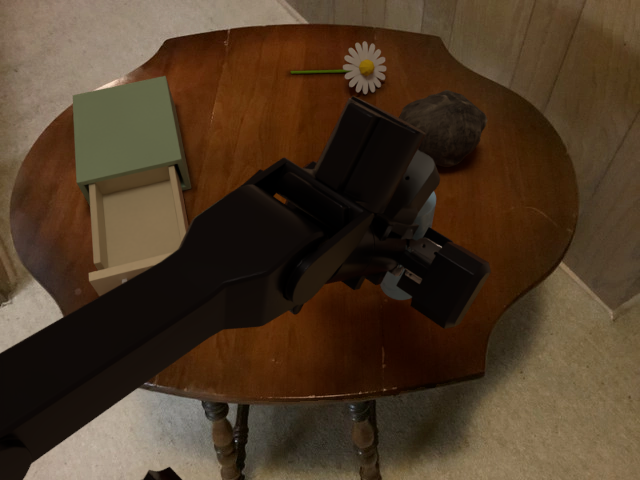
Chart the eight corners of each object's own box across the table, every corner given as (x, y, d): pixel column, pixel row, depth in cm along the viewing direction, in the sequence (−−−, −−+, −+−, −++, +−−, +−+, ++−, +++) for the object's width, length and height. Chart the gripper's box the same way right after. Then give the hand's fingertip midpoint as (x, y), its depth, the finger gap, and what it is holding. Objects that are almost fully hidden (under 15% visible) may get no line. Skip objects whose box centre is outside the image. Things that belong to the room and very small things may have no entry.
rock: (380, 128, 86) (396, 75, 77) (452, 120, 88) (475, 68, 80) (401, 184, 81) (420, 134, 72) (477, 174, 83) (504, 125, 75)
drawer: (208, 306, 70) (201, 288, 66) (103, 334, 68) (90, 316, 65) (184, 177, 82) (177, 156, 79) (94, 198, 80) (83, 177, 77)
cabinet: (191, 188, 82) (181, 158, 77) (92, 211, 80) (76, 182, 75) (175, 106, 92) (165, 75, 87) (87, 125, 90) (72, 95, 85)
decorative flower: (286, 41, 88) (388, 38, 88) (290, 47, 94) (385, 44, 94) (287, 95, 90) (388, 93, 89) (291, 97, 96) (385, 95, 95)
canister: (391, 306, 62) (400, 223, 51) (372, 273, 64) (377, 188, 53) (428, 291, 63) (445, 206, 52) (408, 259, 65) (421, 172, 54)
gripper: (503, 210, 39) (543, 212, 53) (293, 93, 47) (375, 122, 61) (422, 347, 42) (479, 316, 56) (237, 217, 50) (327, 218, 64)
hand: (413, 237), depth 59 cm, fingers closed on canister, 4 cm apart
